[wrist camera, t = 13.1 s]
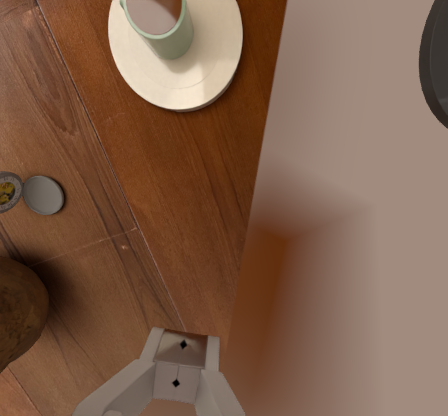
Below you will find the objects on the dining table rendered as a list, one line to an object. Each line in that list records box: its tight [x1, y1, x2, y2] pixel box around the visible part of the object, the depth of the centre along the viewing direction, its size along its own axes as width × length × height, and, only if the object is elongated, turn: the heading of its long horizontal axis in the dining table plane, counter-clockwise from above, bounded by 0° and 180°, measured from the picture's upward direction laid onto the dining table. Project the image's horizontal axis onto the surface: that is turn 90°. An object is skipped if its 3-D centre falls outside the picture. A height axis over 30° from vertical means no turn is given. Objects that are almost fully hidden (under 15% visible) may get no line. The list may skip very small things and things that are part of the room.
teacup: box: [120, 0, 194, 60], centre depth 27 cm, size 8×7×6 cm
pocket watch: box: [0, 171, 64, 215], centre depth 33 cm, size 8×8×10 cm
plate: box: [108, 0, 243, 112], centre depth 31 cm, size 18×18×2 cm
